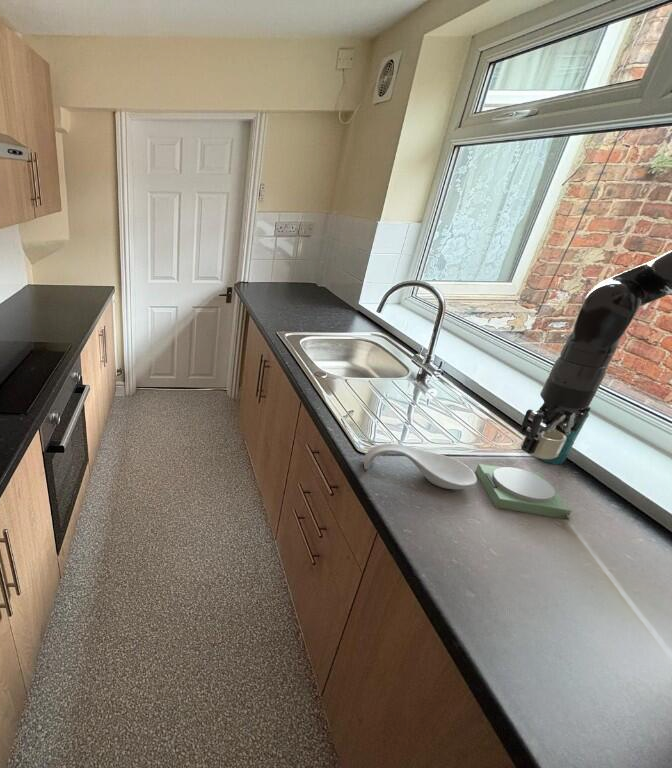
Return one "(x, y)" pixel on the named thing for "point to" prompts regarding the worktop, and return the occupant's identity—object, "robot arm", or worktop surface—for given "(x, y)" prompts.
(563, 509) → the scale
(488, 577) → the worktop surface
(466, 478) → the spoon rest
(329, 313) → the worktop surface
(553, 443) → the bowl
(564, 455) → the beverage bottle
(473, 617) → the worktop surface
